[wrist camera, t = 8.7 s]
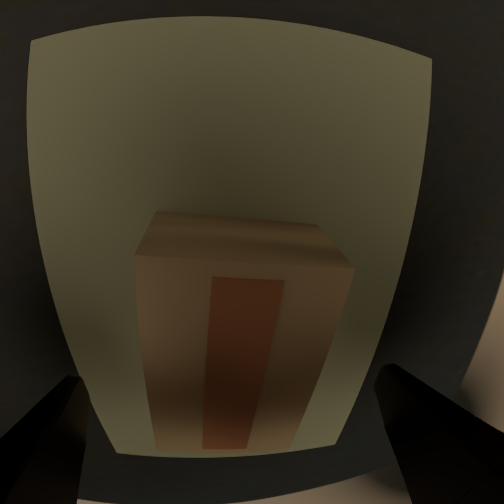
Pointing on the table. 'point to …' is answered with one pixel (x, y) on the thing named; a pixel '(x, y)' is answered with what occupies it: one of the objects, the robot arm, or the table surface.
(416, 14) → the table surface
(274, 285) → the striped cardboard box
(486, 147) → the table surface
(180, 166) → the rubber mat
